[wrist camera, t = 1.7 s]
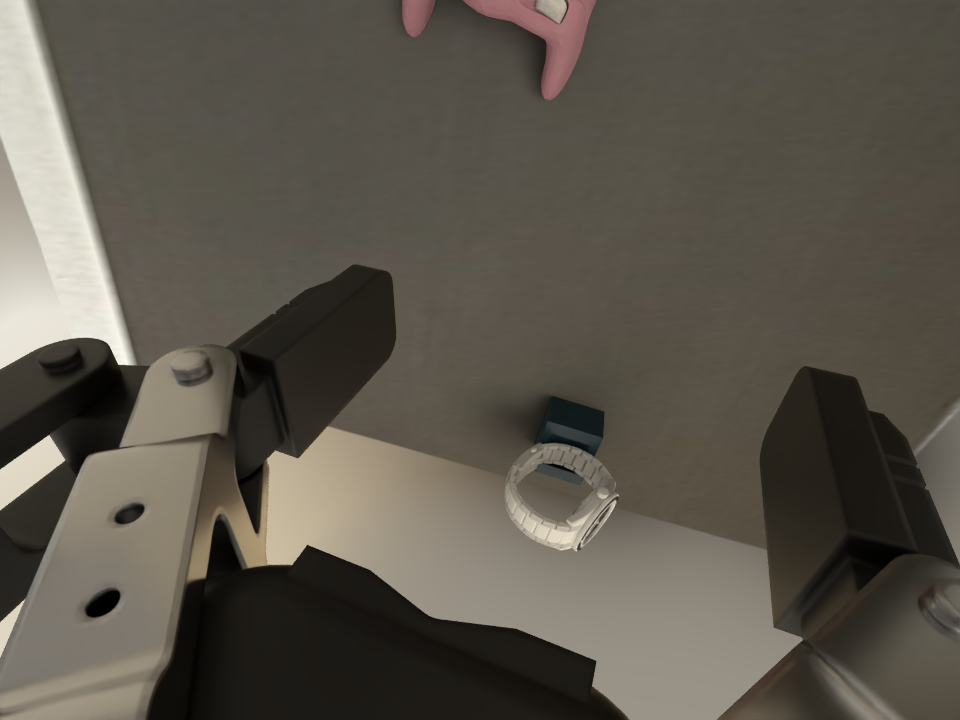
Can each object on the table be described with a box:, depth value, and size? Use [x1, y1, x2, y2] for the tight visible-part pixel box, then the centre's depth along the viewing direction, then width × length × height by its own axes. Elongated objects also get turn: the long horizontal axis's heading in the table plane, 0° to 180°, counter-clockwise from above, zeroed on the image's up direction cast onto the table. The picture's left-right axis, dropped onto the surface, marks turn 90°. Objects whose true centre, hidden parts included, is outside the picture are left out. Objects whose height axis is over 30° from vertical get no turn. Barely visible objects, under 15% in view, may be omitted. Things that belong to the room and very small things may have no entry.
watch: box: [504, 396, 619, 551], centre depth 38 cm, size 6×8×11 cm
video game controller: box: [402, 0, 596, 100], centre depth 26 cm, size 10×5×7 cm, turn 69°
